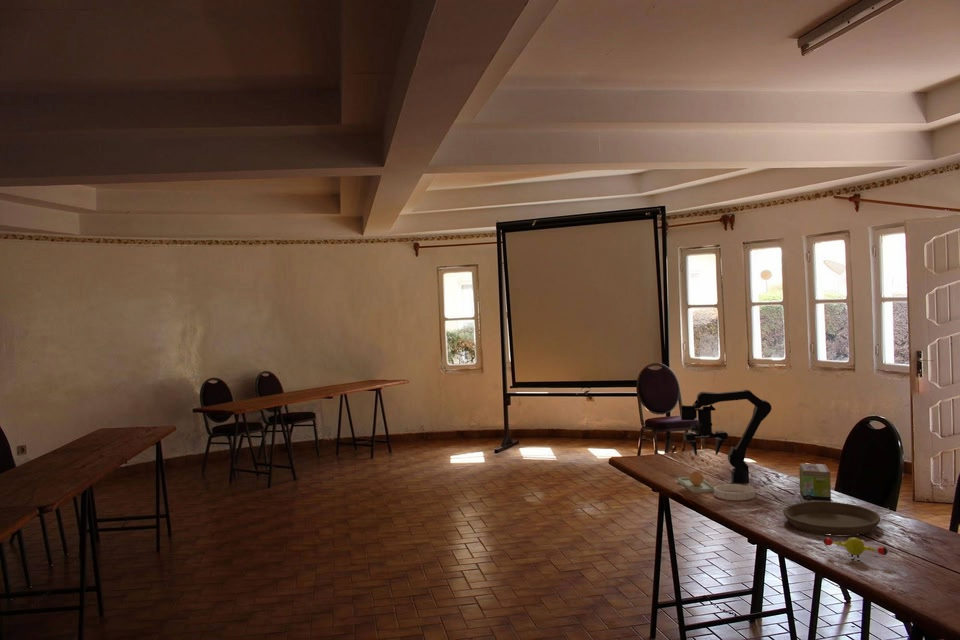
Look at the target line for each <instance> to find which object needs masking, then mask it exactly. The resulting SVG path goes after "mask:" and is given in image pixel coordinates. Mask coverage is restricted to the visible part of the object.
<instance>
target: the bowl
mask: <svg viewBox="0 0 960 640" xmlns="http://www.w3.org/2000/svg"><path fill="white" fill-rule="evenodd" d="M713 487H714V492H713V496H714V497H716V498H719V499H723V500H726V501H727V500H728V501H747V500H752V499H754V498H755V496H756V488H754V487H753V486H749V485H745V484H742V483H724V484H723V483H722V484H718V485H715V486H713Z"/></svg>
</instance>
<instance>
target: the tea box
mask: <svg viewBox="0 0 960 640" xmlns="http://www.w3.org/2000/svg"><path fill="white" fill-rule="evenodd" d="M798 467H799V498H800V501H801V502H800V503H804V502H832V489H831V487H832V486H831V471H830V469H829V468H828V466H827V465H826V463H824V464H823V463H799V466H798Z"/></svg>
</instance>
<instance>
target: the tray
mask: <svg viewBox="0 0 960 640" xmlns="http://www.w3.org/2000/svg"><path fill="white" fill-rule="evenodd" d="M689 477H690V476H688V477H687V476H686V477H677V482H678V484H680V485H681V486H684V487H685V488H687V489H688V490H689V491H690V492H691V493H694V494H695V493H711V492H712V493H714V487H715V486H714V485H712V484H711V483H709V482H708V481H706V480H705V479H704V481H703V483H702V484H701V485H698V486H696V485H693V484H692V483H691V482H690V479H689Z"/></svg>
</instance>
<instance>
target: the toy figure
mask: <svg viewBox="0 0 960 640" xmlns="http://www.w3.org/2000/svg"><path fill="white" fill-rule="evenodd" d="M823 544H824V545H825V546H832V545H833V544H836V545H837V547H838V546H840V547H841V546H842V547H844V548H845V550H846V551H847V552H848V553H849V554H850V557H854V556H856V559H857V558H860V555H862V554H863V553H864V552H865V551H870V552H873V551H877V552H878V554H879V555H881V556H887V555H888V552H889V551H888V549H887V547H885V546H880V547H878V548H877V549H876V548H874V547H872V546H866V545H865V544H866V541H865V540H863V539H860V538H858V537H856V536H851V537H849V538H848V539H847V540H846V541H845V542H841V541H833V539H832V538H830V537H825V538H824V539H823Z"/></svg>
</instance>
